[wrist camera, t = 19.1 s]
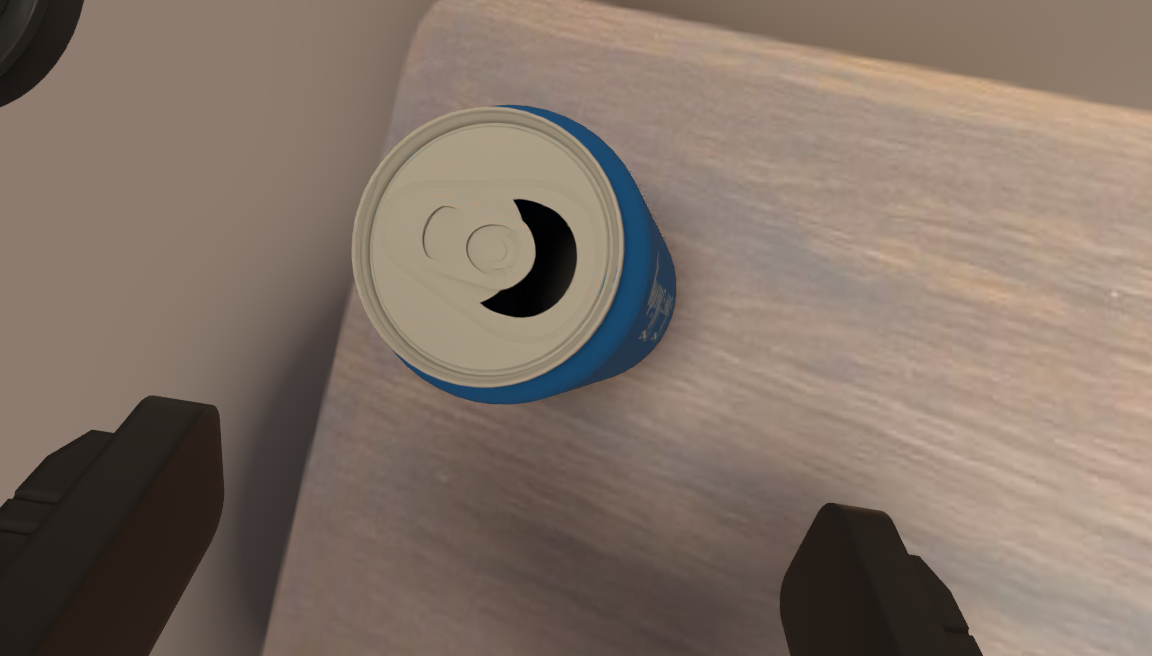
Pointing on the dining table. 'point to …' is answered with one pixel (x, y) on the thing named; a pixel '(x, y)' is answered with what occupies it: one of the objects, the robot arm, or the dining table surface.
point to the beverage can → (510, 256)
